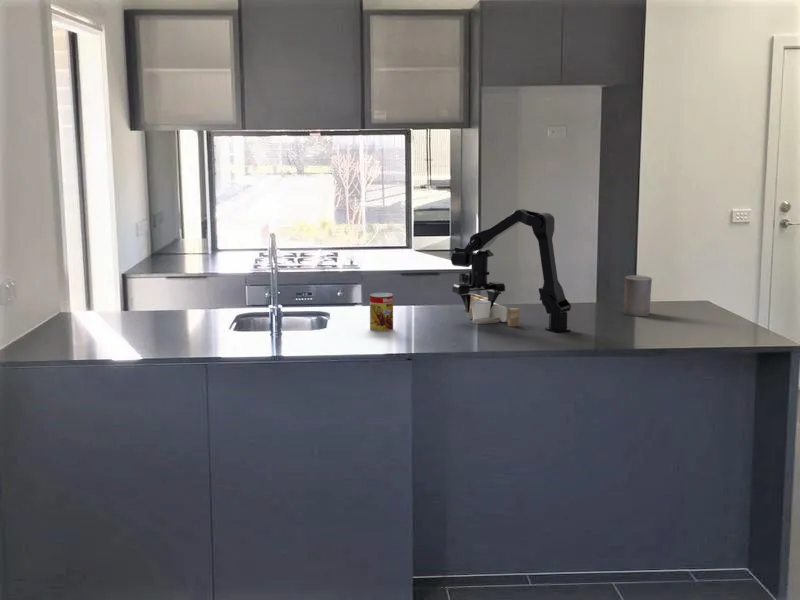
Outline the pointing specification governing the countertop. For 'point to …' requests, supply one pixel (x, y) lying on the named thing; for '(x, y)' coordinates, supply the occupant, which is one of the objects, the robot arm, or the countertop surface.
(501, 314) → the sliding door
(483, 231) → the robot arm
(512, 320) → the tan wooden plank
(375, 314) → the canned food
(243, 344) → the countertop surface
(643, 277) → the pillar candle
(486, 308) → the white grey-rimmed cylinder
